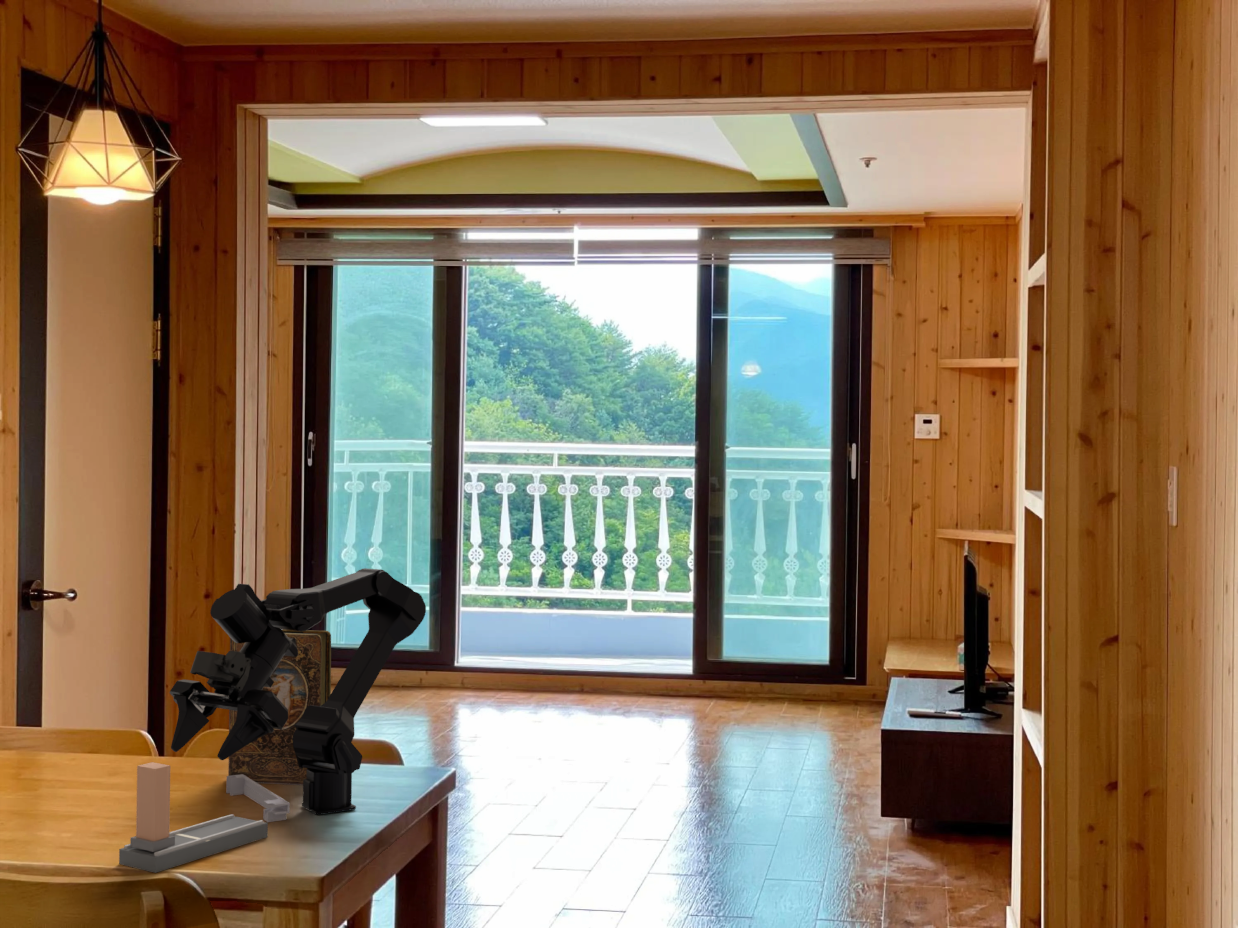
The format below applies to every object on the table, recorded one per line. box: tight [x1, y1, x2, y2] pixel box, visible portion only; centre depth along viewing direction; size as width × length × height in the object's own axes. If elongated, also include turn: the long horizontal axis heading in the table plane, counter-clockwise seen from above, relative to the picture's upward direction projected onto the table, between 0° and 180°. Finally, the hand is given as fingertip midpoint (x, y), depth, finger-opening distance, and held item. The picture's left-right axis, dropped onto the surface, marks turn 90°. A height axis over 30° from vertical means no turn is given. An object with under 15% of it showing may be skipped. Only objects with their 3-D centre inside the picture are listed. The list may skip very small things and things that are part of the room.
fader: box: [129, 761, 175, 852], centre depth 179 cm, size 4×4×11 cm
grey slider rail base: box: [118, 813, 269, 874], centre depth 186 cm, size 20×7×2 cm, turn 150°
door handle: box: [225, 774, 291, 823], centre depth 209 cm, size 21×3×3 cm, turn 34°
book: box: [227, 629, 332, 786], centre depth 227 cm, size 16×6×25 cm, turn 84°
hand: (196, 754), depth 186 cm, fingers open, 9 cm apart
